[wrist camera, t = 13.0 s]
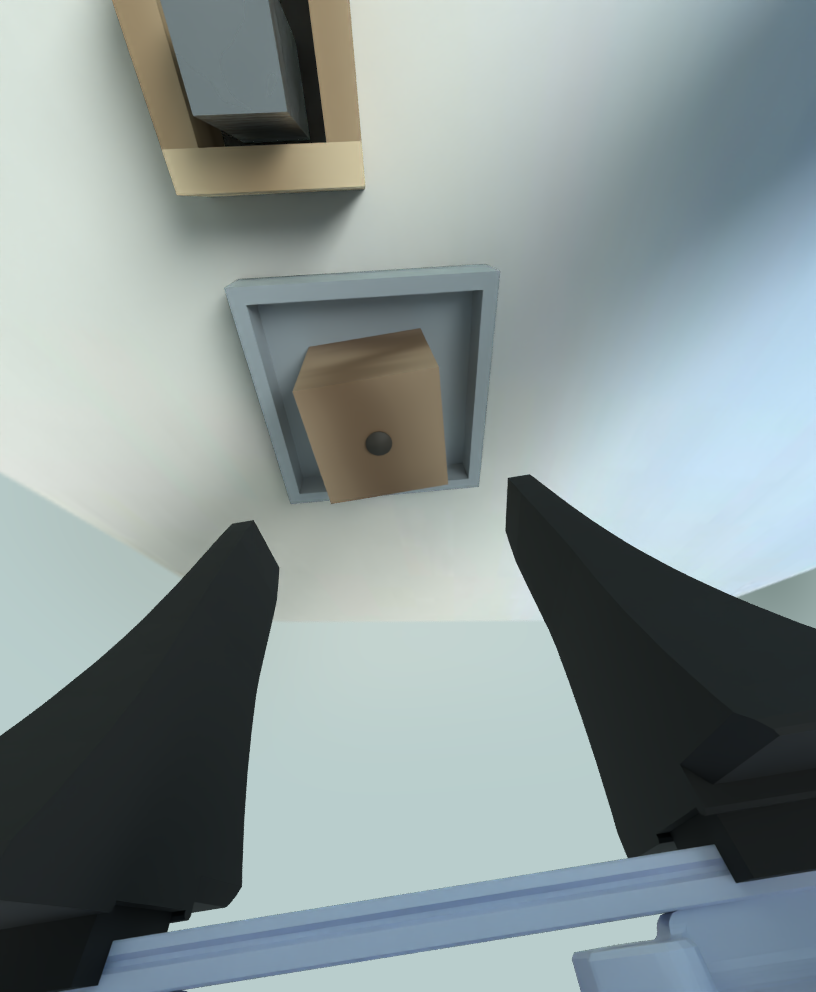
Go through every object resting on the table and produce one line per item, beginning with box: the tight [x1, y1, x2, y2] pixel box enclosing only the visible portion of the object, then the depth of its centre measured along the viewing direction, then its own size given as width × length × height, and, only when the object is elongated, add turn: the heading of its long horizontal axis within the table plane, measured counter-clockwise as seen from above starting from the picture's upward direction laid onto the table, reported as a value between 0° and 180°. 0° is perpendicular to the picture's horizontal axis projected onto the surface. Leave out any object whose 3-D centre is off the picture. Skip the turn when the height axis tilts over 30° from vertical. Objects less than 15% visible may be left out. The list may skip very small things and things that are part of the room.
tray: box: [224, 264, 500, 504], centre depth 18 cm, size 10×10×2 cm
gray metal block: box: [160, 0, 310, 143], centre depth 10 cm, size 2×2×5 cm
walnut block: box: [292, 328, 448, 504], centre depth 16 cm, size 5×5×5 cm
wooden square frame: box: [112, 0, 365, 197], centre depth 11 cm, size 6×6×3 cm
